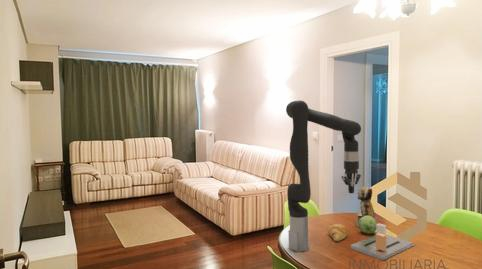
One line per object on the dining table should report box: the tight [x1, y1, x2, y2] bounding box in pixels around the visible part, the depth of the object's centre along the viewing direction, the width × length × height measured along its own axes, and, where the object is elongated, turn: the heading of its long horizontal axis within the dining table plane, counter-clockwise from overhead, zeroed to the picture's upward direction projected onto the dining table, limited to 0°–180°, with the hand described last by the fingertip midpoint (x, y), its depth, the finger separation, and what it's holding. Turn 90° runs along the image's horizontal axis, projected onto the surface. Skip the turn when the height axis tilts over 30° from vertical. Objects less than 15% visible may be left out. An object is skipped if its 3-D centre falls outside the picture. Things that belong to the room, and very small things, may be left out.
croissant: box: [327, 222, 348, 242], centre depth 189 cm, size 21×10×8 cm, turn 162°
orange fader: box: [375, 233, 387, 251], centre depth 163 cm, size 2×4×7 cm, turn 36°
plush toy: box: [354, 186, 376, 228], centre depth 202 cm, size 14×14×25 cm
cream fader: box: [375, 222, 387, 235], centre depth 177 cm, size 2×4×7 cm, turn 35°
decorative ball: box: [358, 216, 378, 235], centre depth 190 cm, size 10×10×10 cm
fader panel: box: [350, 234, 414, 261], centre depth 171 cm, size 26×18×2 cm
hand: (351, 192), depth 177 cm, fingers closed
